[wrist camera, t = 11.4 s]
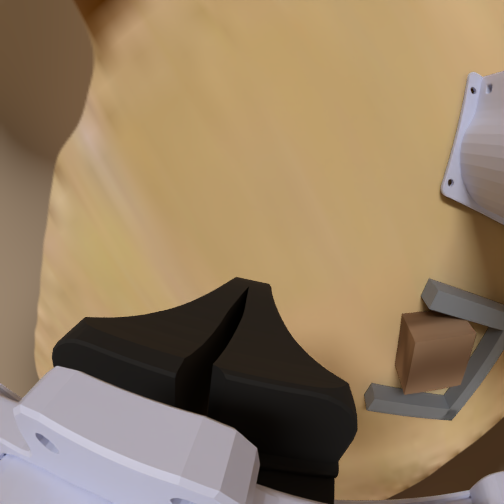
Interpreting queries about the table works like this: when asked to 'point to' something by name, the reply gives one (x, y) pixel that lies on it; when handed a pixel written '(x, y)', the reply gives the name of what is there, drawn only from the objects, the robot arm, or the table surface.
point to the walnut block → (432, 351)
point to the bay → (480, 363)
